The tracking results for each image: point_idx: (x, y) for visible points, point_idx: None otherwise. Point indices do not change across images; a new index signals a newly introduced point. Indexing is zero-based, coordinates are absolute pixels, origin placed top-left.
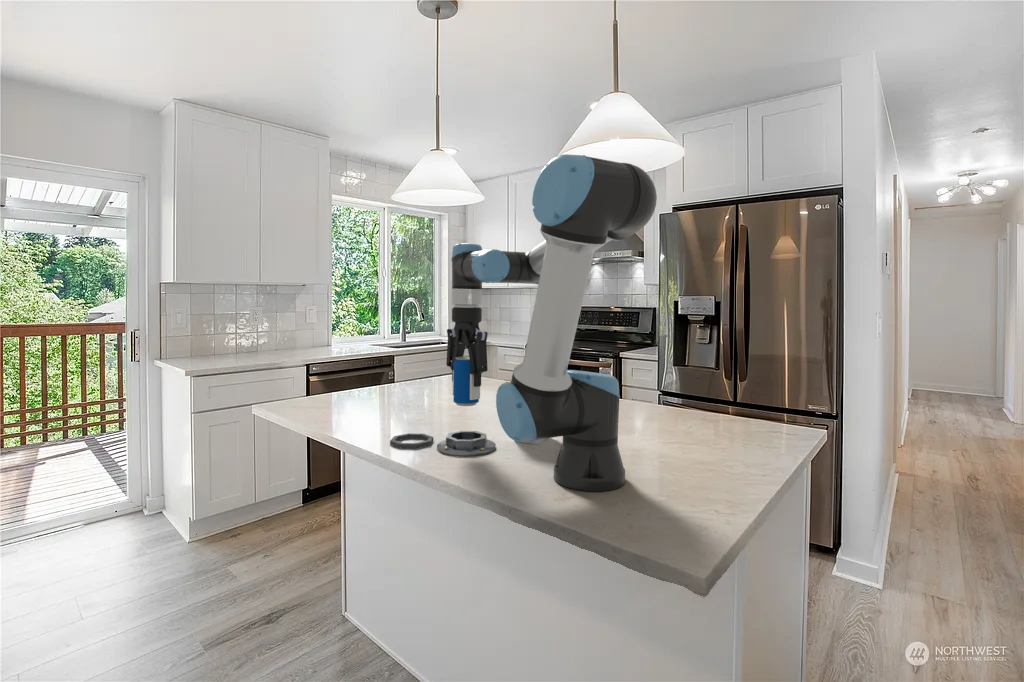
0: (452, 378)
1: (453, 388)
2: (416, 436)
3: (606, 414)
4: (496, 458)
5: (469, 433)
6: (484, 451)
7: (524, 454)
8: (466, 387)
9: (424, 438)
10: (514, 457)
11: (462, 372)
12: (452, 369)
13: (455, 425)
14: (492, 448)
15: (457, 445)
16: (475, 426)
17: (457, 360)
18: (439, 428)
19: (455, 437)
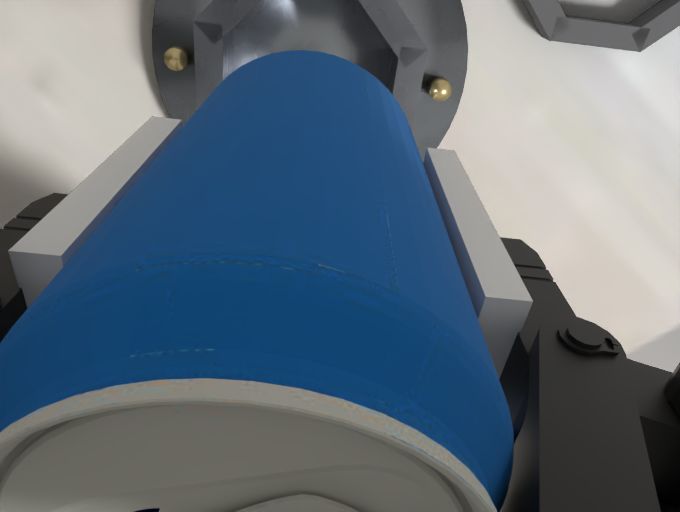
0: (531, 260)
1: (452, 175)
2: (668, 3)
3: None
4: (69, 39)
5: None
6: (153, 48)
7: (54, 176)
8: (170, 141)
9: (607, 21)
10: (37, 113)
11: (140, 194)
12: (553, 318)
13: (617, 303)
14: (171, 116)
15: None
16: None
17: (261, 354)
18: (659, 227)
19: (393, 74)
